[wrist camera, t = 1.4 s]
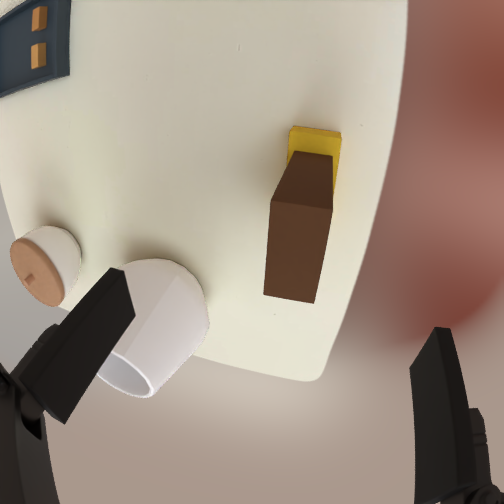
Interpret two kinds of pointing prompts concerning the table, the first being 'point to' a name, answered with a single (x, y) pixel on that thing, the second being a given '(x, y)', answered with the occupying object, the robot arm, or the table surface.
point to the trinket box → (47, 263)
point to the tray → (23, 38)
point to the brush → (302, 215)
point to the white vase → (157, 327)
